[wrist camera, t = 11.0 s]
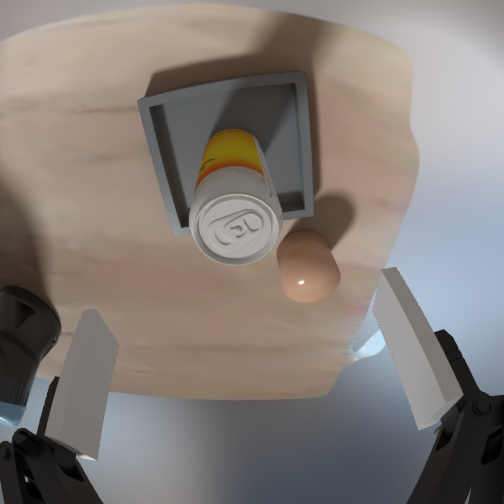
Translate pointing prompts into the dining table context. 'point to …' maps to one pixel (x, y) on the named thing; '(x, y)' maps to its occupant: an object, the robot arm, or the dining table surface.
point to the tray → (231, 117)
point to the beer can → (235, 201)
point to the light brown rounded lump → (307, 267)
